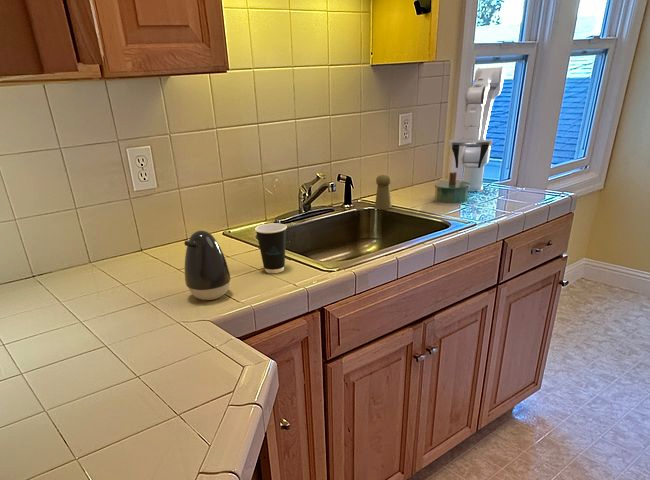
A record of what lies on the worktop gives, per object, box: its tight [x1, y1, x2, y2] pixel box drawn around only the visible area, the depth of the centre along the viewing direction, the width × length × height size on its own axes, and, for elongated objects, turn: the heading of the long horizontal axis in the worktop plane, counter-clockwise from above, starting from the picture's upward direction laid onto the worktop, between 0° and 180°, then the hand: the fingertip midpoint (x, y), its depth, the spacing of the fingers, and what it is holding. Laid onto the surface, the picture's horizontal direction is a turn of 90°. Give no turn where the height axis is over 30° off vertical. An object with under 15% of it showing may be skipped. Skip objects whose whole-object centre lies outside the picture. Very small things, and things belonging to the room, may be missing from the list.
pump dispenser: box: [183, 230, 232, 301], centre depth 112 cm, size 10×10×15 cm
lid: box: [433, 171, 470, 189], centre depth 178 cm, size 12×12×5 cm
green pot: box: [434, 186, 469, 205], centre depth 180 cm, size 11×11×6 cm
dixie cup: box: [254, 222, 288, 274], centre depth 126 cm, size 8×8×11 cm
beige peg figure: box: [374, 174, 393, 210], centre depth 177 cm, size 6×6×11 cm
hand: (467, 167), depth 180 cm, fingers open, 7 cm apart
